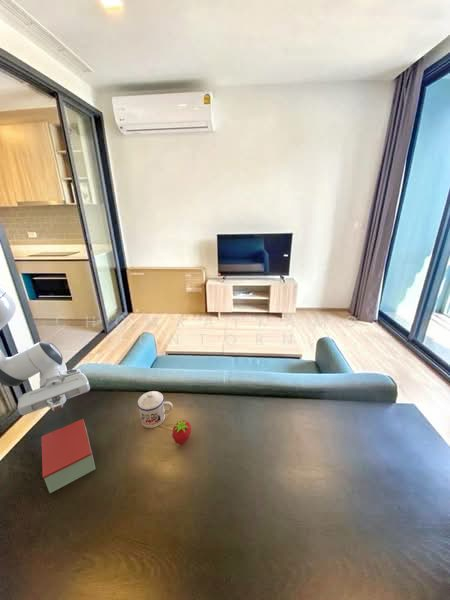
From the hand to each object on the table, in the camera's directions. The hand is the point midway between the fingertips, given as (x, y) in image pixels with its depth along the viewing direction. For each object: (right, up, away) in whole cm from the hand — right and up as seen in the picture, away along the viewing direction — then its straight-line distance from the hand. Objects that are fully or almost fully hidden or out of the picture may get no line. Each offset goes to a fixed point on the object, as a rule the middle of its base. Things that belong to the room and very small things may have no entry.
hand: (57, 407), depth 79 cm
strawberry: (+40, -13, +3) cm, 42 cm away
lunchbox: (+6, -16, -2) cm, 17 cm away
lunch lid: (+6, -9, -5) cm, 12 cm away
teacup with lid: (+28, -10, +13) cm, 33 cm away
